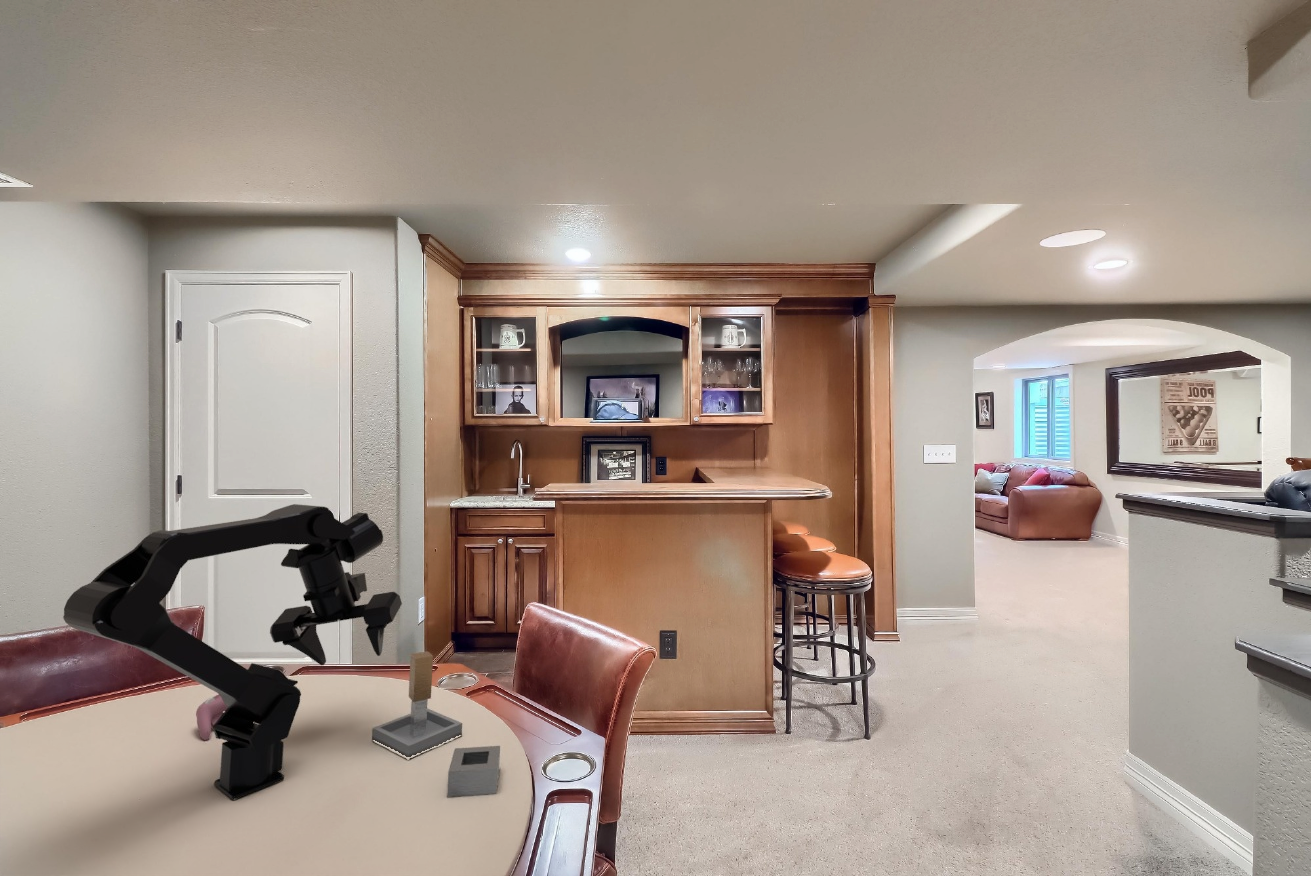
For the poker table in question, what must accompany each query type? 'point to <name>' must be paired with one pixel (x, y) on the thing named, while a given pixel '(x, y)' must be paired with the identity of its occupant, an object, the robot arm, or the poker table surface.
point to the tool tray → (403, 742)
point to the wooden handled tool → (420, 691)
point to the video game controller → (209, 715)
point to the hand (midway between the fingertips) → (352, 658)
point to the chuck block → (474, 771)
